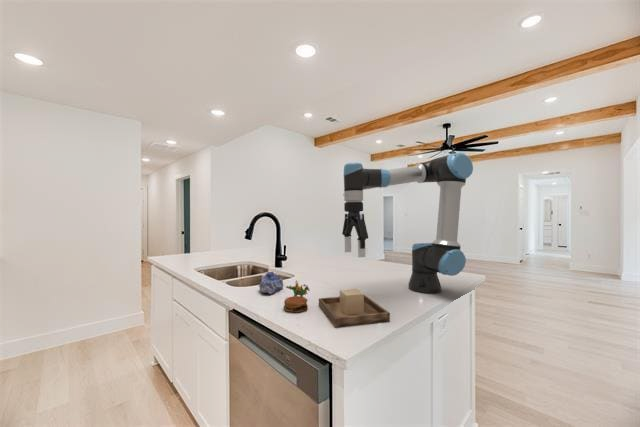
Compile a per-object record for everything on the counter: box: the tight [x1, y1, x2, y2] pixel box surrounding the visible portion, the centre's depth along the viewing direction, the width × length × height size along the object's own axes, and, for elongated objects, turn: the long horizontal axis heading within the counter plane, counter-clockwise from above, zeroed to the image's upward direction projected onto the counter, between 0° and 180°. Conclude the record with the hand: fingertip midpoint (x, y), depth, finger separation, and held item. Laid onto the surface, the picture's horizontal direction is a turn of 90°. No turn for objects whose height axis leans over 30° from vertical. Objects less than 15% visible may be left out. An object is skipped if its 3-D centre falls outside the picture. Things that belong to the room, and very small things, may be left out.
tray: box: [318, 294, 391, 329], centre depth 103 cm, size 20×22×3 cm
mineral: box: [258, 271, 285, 295], centre depth 131 cm, size 14×10×10 cm
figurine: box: [285, 280, 310, 297], centre depth 120 cm, size 3×12×8 cm, turn 69°
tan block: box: [339, 288, 365, 315], centre depth 103 cm, size 7×7×7 cm
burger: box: [283, 295, 309, 313], centre depth 107 cm, size 10×9×5 cm
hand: (354, 254), depth 109 cm, fingers open, 13 cm apart
